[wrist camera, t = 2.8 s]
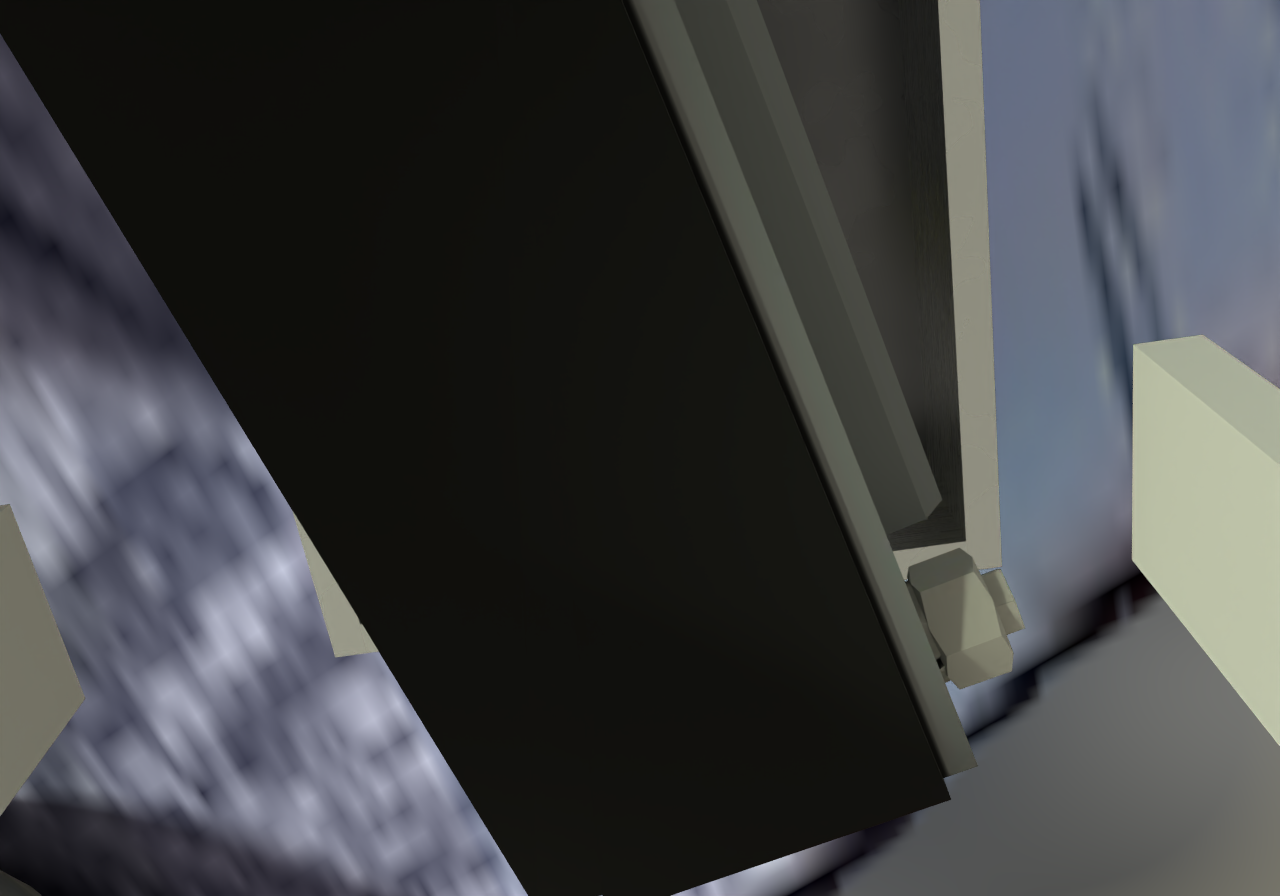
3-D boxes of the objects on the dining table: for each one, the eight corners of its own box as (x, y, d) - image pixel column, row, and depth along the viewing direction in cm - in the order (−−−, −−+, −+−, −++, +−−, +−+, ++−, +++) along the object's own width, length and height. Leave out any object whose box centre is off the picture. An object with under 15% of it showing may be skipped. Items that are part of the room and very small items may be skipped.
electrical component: (862, 357, 38) (1080, 755, 20) (566, 476, 40) (514, 949, 21) (639, -228, 32) (656, -441, 13) (297, -60, 33) (-109, -45, 15)
